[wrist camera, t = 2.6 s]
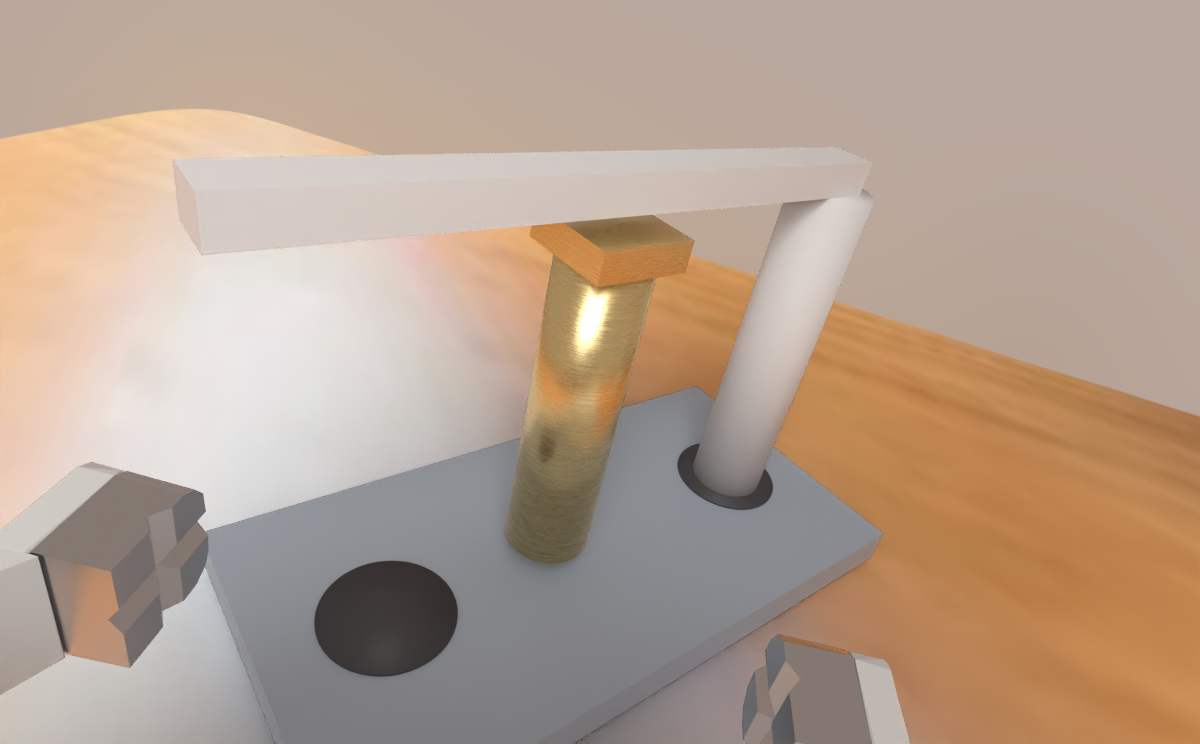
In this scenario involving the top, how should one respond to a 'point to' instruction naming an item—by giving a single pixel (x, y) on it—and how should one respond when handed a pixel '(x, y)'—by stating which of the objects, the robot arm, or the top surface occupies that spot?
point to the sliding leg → (583, 372)
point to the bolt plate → (485, 477)
